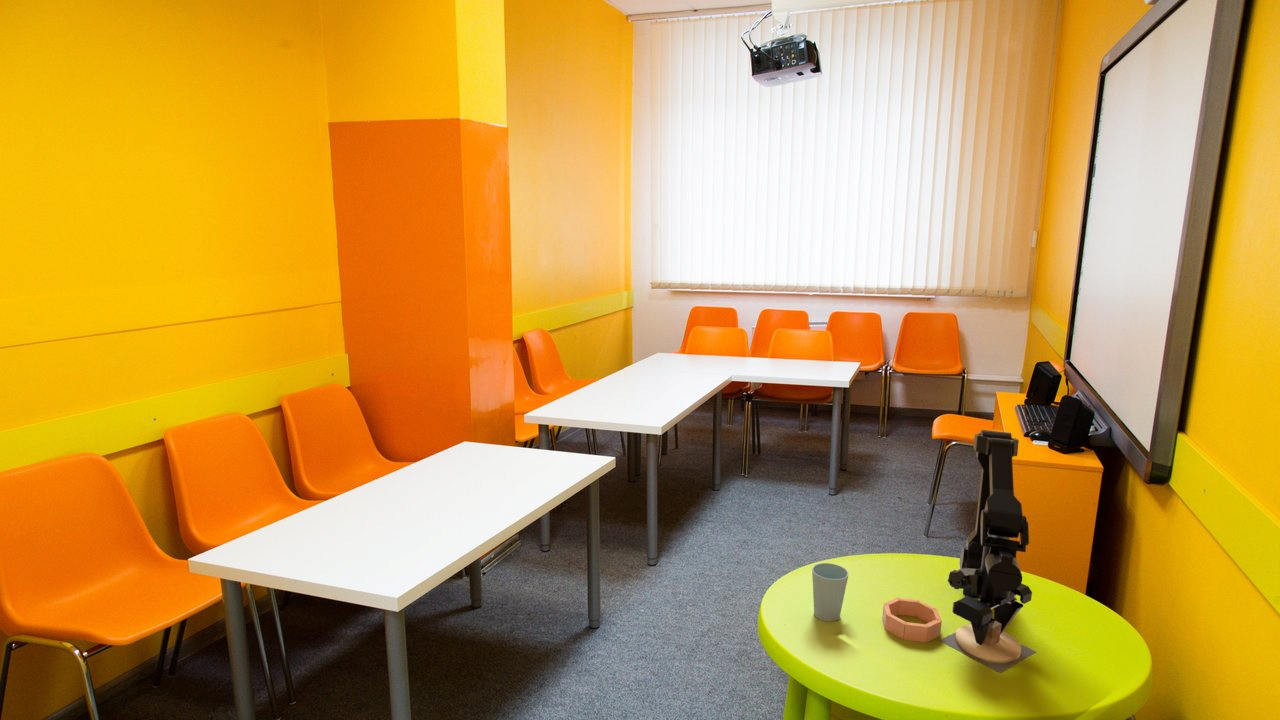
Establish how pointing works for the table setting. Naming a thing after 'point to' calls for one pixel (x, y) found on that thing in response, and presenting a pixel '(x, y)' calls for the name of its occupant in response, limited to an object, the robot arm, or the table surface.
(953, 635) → the mat
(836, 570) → the cup
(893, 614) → the ring
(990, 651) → the lid
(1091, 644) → the table surface
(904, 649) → the table surface
